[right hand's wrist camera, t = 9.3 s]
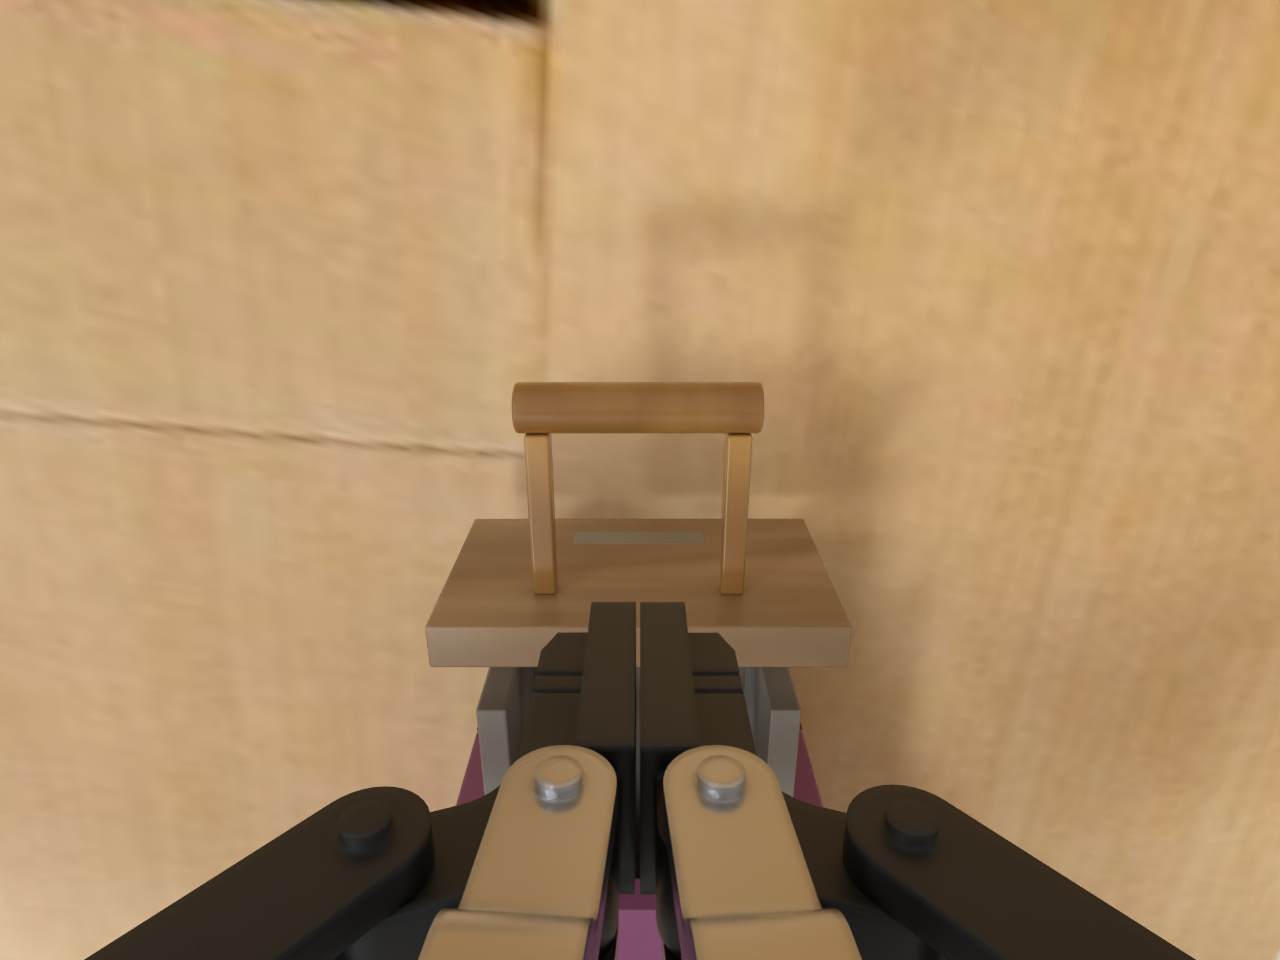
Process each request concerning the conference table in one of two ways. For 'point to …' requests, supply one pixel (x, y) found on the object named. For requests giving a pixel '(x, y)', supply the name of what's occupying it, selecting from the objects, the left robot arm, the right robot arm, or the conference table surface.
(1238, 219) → the conference table surface
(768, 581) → the drawer
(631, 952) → the cabinet
